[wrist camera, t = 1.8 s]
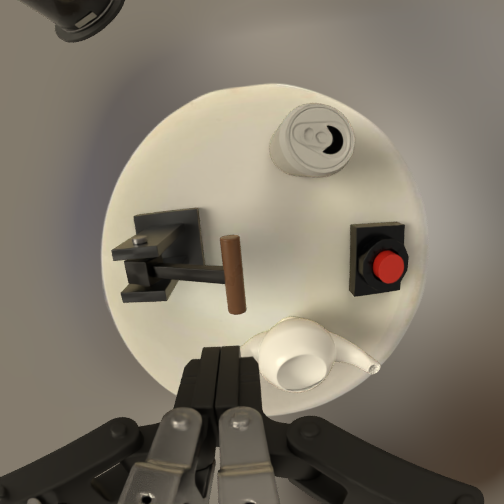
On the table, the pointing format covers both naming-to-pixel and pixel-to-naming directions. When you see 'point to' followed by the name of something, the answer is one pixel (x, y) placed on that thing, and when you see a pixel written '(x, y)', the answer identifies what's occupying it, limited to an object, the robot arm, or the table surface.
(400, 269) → the button
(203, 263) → the bracket
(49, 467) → the robot arm
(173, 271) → the lever
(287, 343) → the teapot
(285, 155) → the beverage can
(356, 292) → the control block
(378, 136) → the table surface
